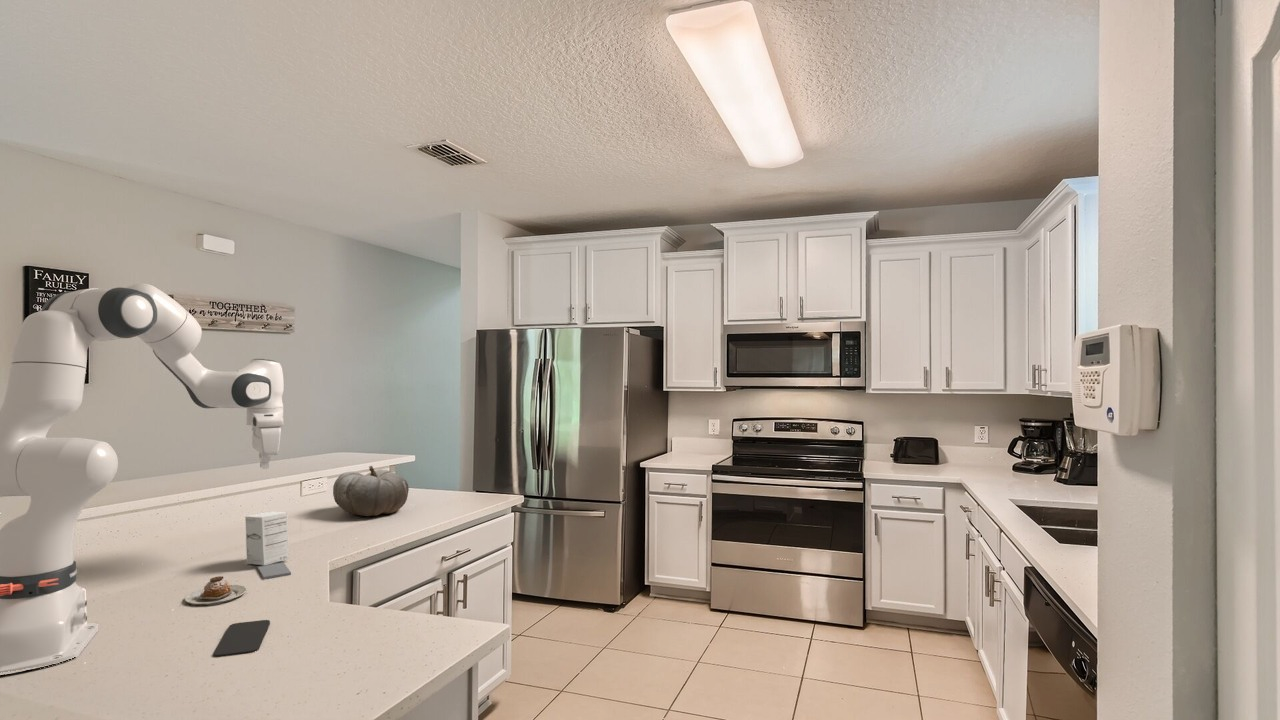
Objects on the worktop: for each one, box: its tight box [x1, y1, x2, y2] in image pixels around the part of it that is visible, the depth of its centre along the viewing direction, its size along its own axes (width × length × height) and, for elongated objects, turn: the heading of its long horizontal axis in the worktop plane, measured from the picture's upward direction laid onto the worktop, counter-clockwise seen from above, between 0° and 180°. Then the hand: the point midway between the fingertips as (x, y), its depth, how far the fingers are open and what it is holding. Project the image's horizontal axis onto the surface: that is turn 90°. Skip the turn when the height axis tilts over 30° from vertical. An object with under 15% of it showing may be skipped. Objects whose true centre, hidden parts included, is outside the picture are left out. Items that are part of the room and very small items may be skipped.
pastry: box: [184, 576, 248, 606], centre depth 151 cm, size 12×12×5 cm
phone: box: [213, 619, 271, 658], centre depth 129 cm, size 7×1×15 cm
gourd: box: [332, 465, 409, 517], centre depth 233 cm, size 25×25×17 cm
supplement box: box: [245, 511, 290, 566], centre depth 176 cm, size 7×7×13 cm
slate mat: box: [257, 561, 292, 580], centre depth 169 cm, size 10×6×1 cm, turn 38°
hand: (264, 468), depth 182 cm, fingers closed
